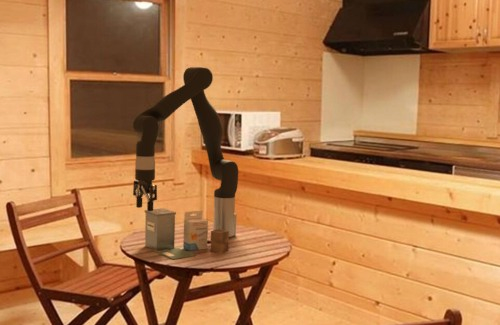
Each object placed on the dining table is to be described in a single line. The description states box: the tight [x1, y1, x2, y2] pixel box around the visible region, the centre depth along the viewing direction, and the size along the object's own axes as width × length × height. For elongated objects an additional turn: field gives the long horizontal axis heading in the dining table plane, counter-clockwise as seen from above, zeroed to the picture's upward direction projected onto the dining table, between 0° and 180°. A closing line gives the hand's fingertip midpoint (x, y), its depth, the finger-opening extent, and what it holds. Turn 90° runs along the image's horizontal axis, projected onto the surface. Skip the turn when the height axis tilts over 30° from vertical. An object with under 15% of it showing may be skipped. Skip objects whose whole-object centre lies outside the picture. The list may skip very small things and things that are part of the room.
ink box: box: [182, 210, 209, 252], centre depth 231 cm, size 8×5×15 cm, turn 123°
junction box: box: [144, 207, 177, 252], centre depth 231 cm, size 9×10×15 cm
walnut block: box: [210, 229, 230, 254], centre depth 229 cm, size 5×5×8 cm
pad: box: [155, 247, 196, 260], centre depth 222 cm, size 10×12×1 cm
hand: (144, 209), depth 225 cm, fingers open, 8 cm apart
